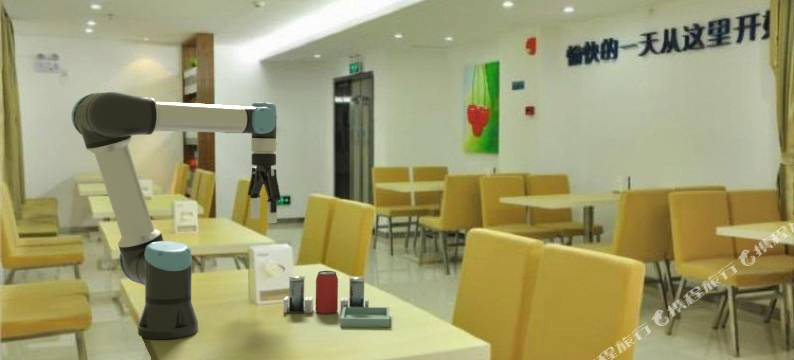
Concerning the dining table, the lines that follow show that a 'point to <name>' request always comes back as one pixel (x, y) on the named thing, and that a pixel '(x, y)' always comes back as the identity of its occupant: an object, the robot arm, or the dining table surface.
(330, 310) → the beer can
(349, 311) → the tray
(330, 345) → the dining table surface
